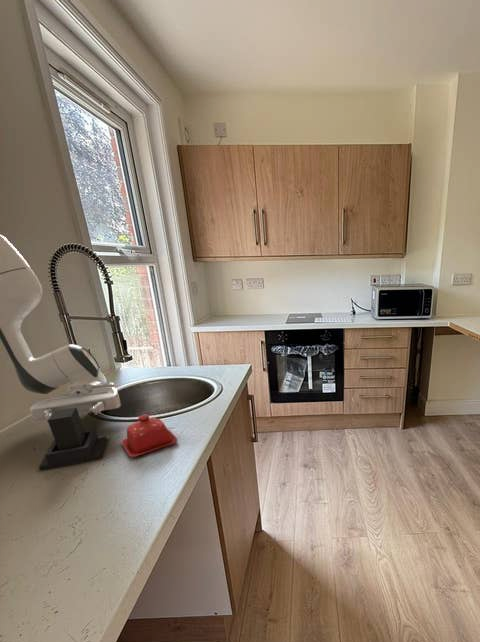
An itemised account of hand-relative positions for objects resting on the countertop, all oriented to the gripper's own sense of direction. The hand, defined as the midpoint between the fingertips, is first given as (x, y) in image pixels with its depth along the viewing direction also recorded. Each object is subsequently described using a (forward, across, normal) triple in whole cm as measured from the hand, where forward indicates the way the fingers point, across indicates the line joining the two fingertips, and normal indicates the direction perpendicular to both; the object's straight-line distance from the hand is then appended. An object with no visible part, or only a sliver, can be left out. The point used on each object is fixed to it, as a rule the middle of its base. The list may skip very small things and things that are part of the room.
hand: (71, 415), depth 88 cm
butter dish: (+8, +17, +9) cm, 21 cm away
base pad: (+6, 0, +8) cm, 10 cm away
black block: (+6, 0, +7) cm, 9 cm away
